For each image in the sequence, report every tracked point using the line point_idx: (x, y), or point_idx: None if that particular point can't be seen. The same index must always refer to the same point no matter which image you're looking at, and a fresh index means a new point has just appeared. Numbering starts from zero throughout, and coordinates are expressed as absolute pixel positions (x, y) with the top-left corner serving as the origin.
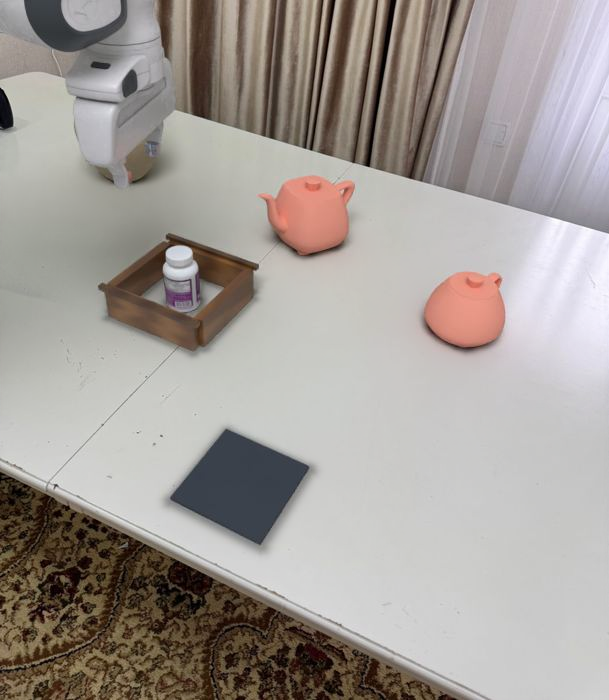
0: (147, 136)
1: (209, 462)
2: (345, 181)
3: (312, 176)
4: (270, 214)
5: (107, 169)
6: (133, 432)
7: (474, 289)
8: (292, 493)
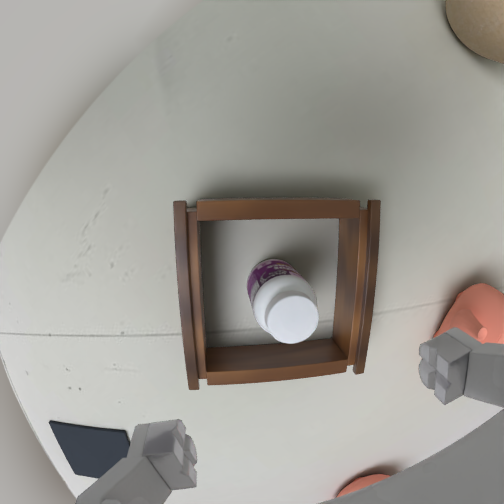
0: (486, 355)
1: (89, 434)
2: None
3: None
4: (463, 328)
5: (452, 11)
6: (64, 365)
7: None
8: None
